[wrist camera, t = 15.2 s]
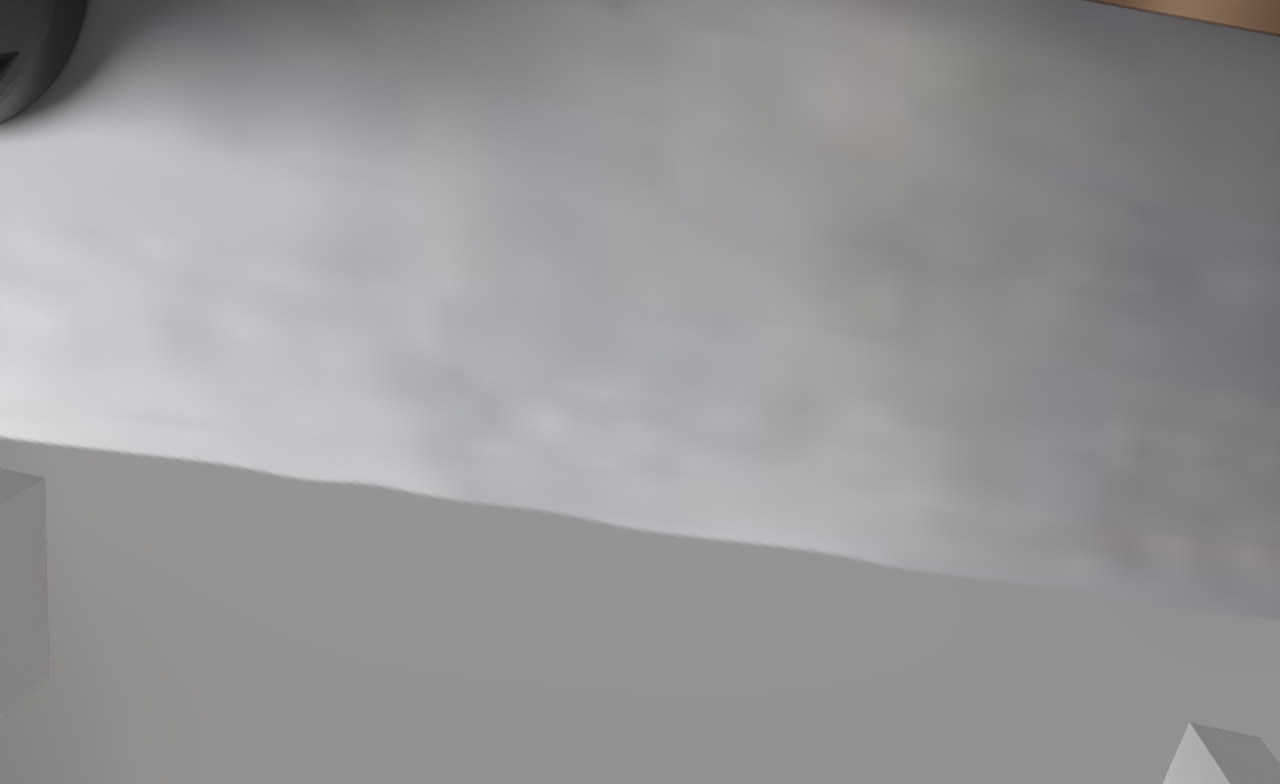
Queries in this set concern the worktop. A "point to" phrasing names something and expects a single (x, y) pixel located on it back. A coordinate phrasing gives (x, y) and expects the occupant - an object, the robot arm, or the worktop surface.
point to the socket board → (1214, 12)
